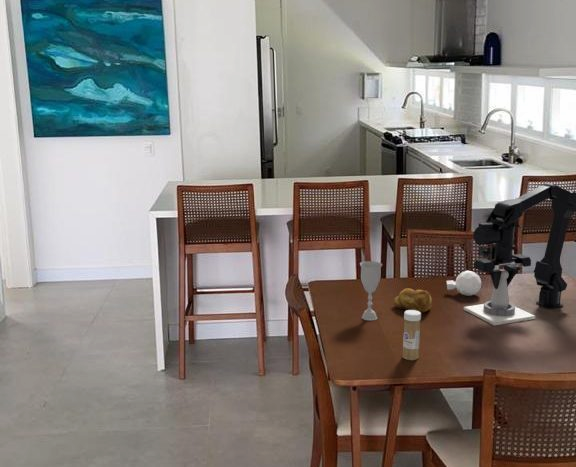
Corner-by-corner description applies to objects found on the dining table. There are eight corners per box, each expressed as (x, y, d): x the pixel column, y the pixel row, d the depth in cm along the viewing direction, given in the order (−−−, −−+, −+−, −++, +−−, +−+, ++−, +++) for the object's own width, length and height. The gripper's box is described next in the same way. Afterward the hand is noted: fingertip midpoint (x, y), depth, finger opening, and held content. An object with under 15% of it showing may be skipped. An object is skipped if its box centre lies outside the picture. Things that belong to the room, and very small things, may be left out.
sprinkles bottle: (399, 358, 201) (401, 312, 198) (407, 353, 205) (409, 308, 202) (413, 362, 198) (415, 316, 195) (421, 357, 202) (424, 311, 199)
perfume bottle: (481, 285, 260) (447, 288, 263) (480, 264, 256) (445, 267, 258) (483, 300, 253) (448, 302, 256) (482, 278, 248) (446, 281, 251)
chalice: (383, 316, 235) (385, 262, 230) (376, 322, 229) (378, 268, 224) (362, 312, 238) (363, 260, 233) (355, 319, 232) (356, 265, 227)
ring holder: (502, 303, 247) (503, 295, 246) (534, 318, 232) (535, 309, 232) (463, 309, 241) (464, 301, 240) (494, 325, 226) (495, 316, 226)
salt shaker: (509, 312, 233) (512, 273, 230) (490, 311, 234) (493, 272, 231) (507, 306, 238) (510, 268, 235) (489, 305, 239) (492, 267, 236)
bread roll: (389, 309, 241) (390, 286, 239) (400, 301, 249) (401, 279, 247) (426, 316, 235) (427, 293, 233) (436, 308, 243) (437, 285, 241)
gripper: (511, 233, 242) (507, 278, 245) (464, 238, 235) (462, 284, 238) (533, 241, 232) (530, 287, 235) (486, 246, 225) (483, 294, 228)
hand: (500, 288), depth 235 cm, fingers closed on salt shaker, 3 cm apart
